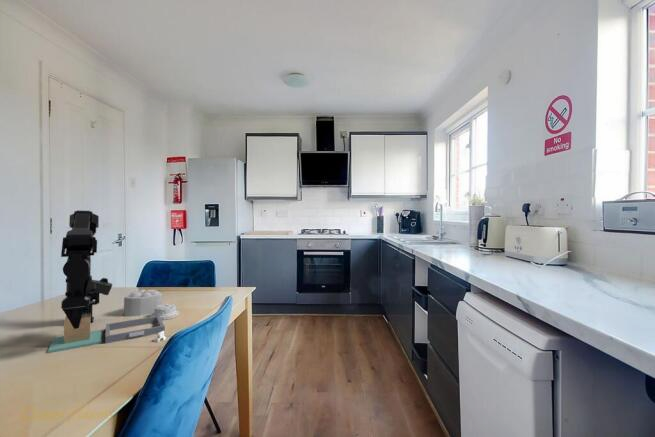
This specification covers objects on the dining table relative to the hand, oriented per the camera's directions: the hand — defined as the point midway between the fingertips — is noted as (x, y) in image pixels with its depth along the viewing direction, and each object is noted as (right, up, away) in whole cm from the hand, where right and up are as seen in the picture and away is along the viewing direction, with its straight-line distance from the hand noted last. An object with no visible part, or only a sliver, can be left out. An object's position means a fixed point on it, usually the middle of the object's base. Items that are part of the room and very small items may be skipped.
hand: (77, 324), depth 92 cm
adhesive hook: (+24, -6, +2) cm, 25 cm away
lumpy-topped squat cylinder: (+1, -6, +31) cm, 31 cm away
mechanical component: (+13, -6, +25) cm, 29 cm away
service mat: (0, -5, 0) cm, 5 cm away
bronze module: (0, -5, 0) cm, 5 cm away
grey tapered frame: (+12, -6, +9) cm, 16 cm away
